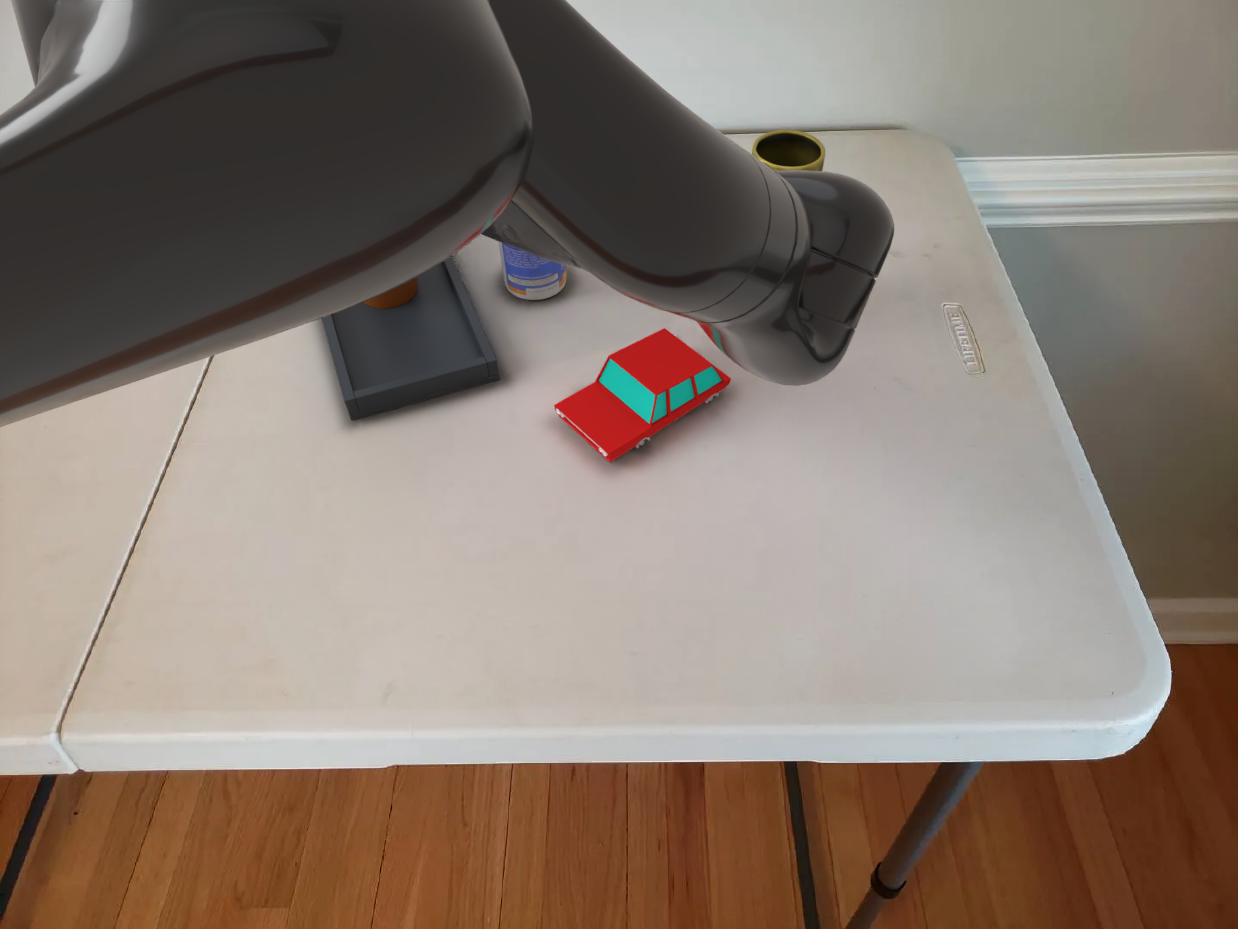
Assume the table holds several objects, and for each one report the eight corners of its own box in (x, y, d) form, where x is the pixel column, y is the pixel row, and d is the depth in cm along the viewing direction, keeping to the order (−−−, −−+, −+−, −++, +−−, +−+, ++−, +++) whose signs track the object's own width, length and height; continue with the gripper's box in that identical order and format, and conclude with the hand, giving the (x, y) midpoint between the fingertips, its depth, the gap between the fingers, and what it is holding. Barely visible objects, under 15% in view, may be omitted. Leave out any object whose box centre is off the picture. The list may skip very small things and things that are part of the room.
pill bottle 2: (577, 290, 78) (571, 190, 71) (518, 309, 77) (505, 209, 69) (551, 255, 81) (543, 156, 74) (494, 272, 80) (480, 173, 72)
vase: (714, 301, 77) (728, 146, 66) (765, 270, 79) (786, 116, 69) (768, 338, 74) (792, 182, 63) (819, 305, 76) (850, 149, 66)
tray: (351, 420, 69) (344, 401, 67) (298, 229, 84) (291, 210, 82) (500, 379, 71) (497, 359, 70) (422, 201, 87) (418, 182, 85)
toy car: (553, 419, 68) (549, 380, 65) (672, 347, 73) (674, 308, 70) (609, 470, 65) (608, 432, 62) (730, 391, 70) (734, 352, 67)
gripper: (604, 67, 53) (387, 4, 60) (445, 188, 46) (214, 101, 52) (608, 181, 59) (410, 113, 65) (467, 306, 51) (257, 215, 58)
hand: (324, 108), depth 58 cm, fingers closed on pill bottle, 6 cm apart
